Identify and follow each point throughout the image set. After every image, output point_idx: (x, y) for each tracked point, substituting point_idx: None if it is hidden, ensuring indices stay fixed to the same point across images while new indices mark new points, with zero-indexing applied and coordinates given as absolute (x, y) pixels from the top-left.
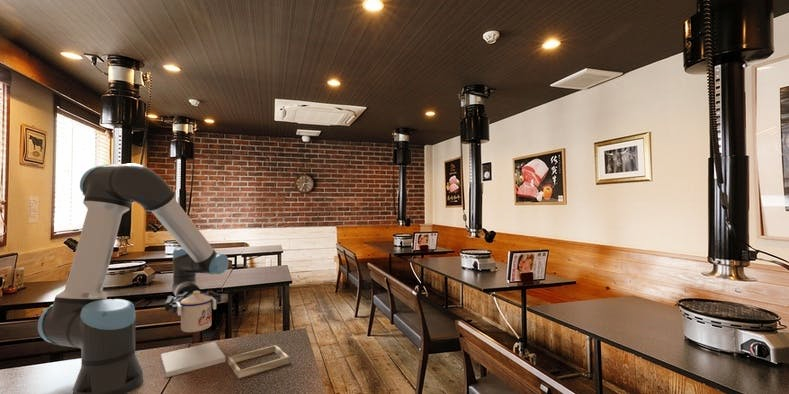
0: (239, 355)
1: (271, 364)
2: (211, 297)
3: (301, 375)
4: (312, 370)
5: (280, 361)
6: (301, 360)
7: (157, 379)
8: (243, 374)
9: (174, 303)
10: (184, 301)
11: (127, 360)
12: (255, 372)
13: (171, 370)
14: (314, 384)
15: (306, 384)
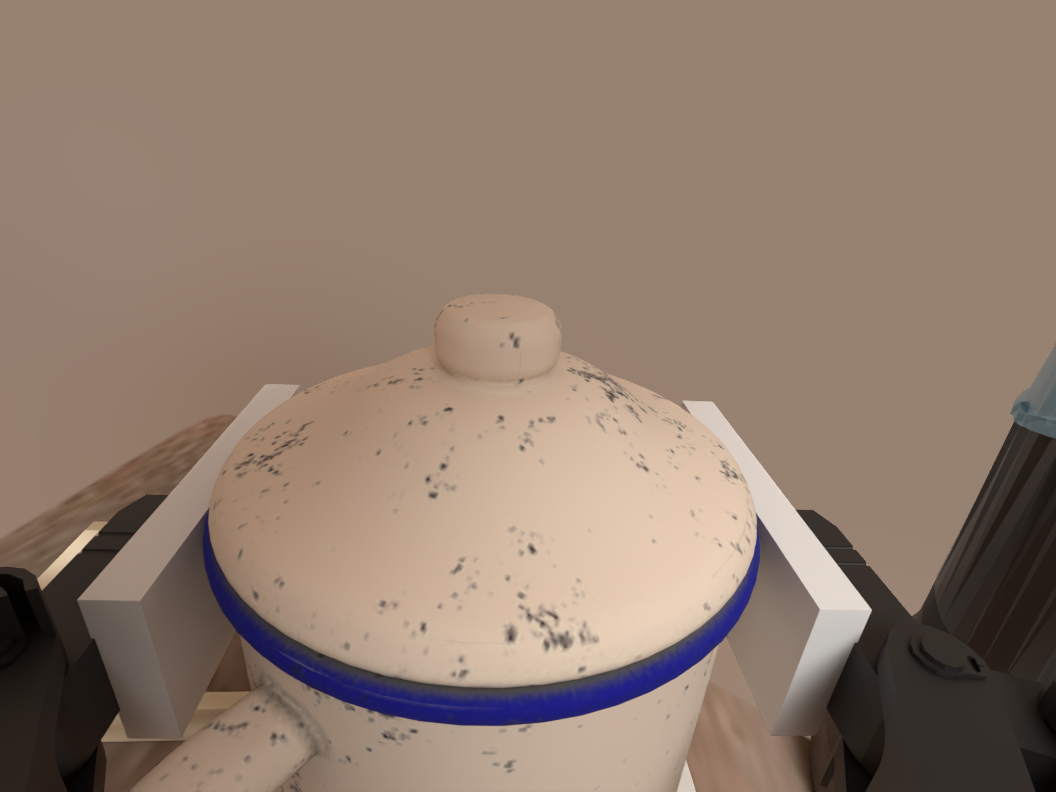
0: (226, 692)
1: None
2: (242, 439)
3: (182, 462)
4: (123, 466)
5: None
6: (41, 542)
7: (726, 780)
8: None
9: (898, 636)
10: (668, 404)
11: (917, 615)
12: None
13: None
14: (212, 417)
15: (227, 426)
